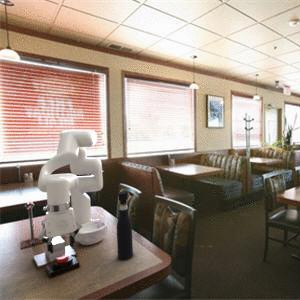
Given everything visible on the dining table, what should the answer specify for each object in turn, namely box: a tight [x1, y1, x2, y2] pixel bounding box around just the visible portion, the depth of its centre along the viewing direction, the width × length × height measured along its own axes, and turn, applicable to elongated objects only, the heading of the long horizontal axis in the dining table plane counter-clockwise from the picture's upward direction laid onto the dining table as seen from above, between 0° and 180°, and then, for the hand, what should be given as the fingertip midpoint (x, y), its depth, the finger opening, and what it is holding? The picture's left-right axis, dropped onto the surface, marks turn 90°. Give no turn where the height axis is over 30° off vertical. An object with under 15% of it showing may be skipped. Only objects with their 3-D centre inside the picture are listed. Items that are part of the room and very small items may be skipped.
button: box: [56, 254, 68, 263], centre depth 97 cm, size 4×4×2 cm
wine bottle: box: [116, 191, 134, 261], centre depth 106 cm, size 6×6×30 cm
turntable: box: [32, 244, 78, 270], centre depth 106 cm, size 14×12×2 cm
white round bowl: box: [75, 221, 108, 246], centre depth 123 cm, size 15×15×8 cm
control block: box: [45, 256, 80, 279], centre depth 98 cm, size 10×8×4 cm
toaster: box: [44, 236, 66, 261], centre depth 106 cm, size 11×6×7 cm, turn 47°
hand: (61, 248), depth 97 cm, fingers open, 6 cm apart
